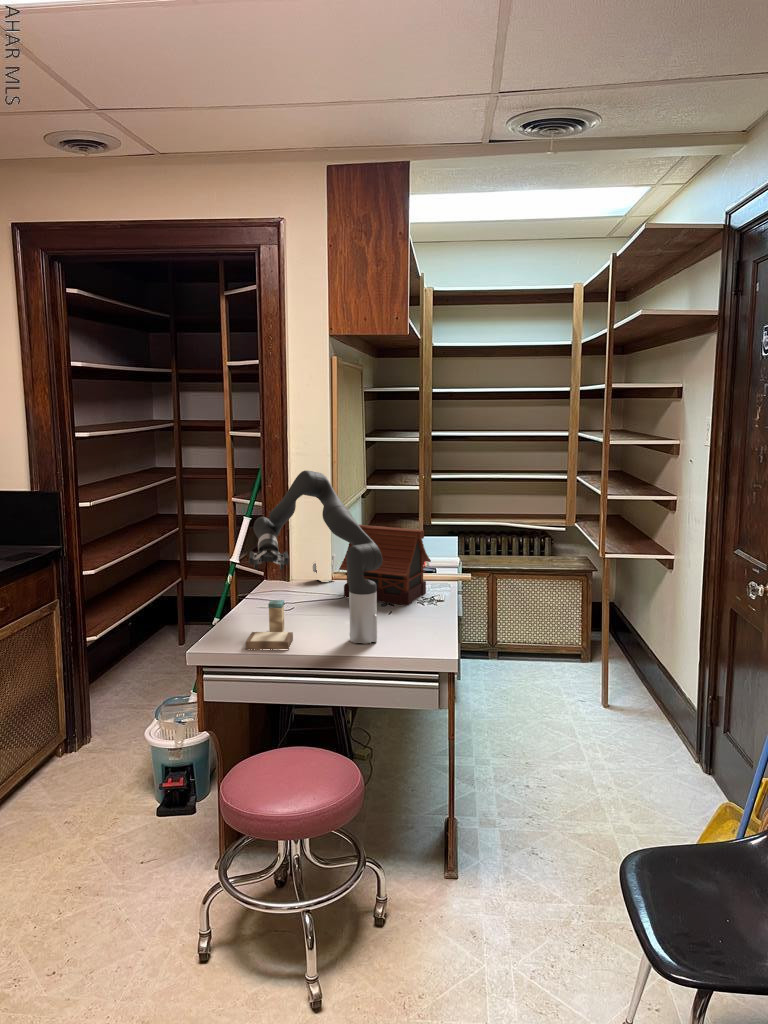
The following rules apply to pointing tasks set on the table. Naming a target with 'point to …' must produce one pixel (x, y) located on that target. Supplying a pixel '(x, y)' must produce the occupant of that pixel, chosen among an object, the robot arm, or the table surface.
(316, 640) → the table surface
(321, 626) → the table surface
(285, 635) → the dock
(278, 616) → the teal topped tan block
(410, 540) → the house
